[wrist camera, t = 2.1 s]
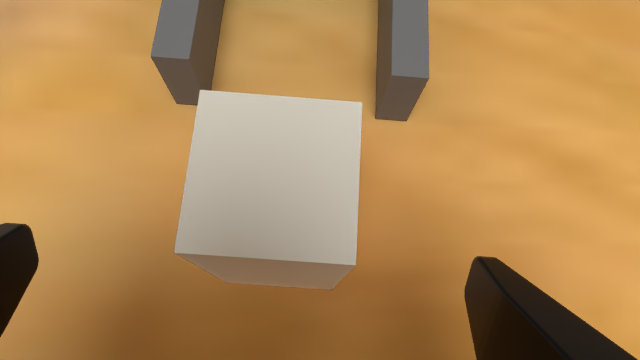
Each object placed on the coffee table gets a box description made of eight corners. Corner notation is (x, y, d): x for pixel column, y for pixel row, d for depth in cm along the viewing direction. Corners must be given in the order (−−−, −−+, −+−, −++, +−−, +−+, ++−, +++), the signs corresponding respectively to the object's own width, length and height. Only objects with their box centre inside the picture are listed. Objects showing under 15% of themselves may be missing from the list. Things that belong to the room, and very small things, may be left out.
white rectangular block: (332, 290, 19) (356, 265, 11) (226, 282, 19) (174, 252, 11) (337, 188, 21) (362, 102, 13) (238, 181, 21) (200, 89, 13)
